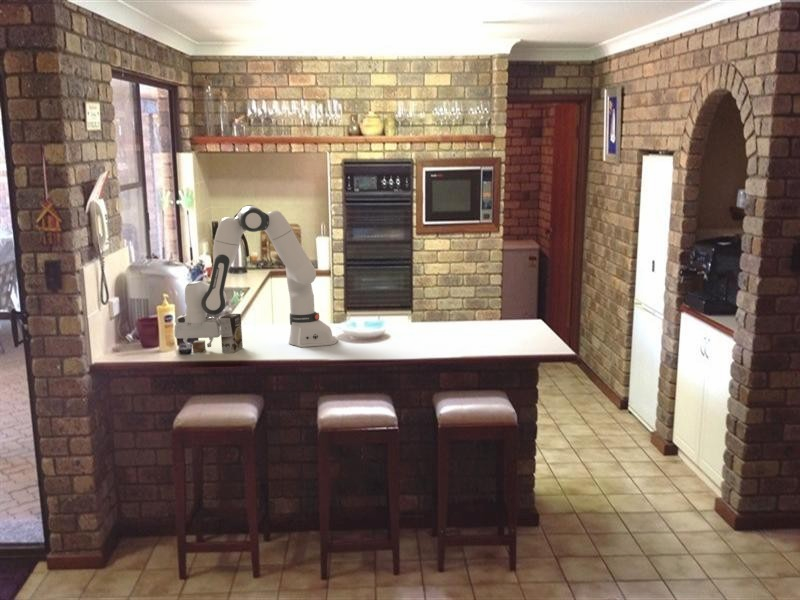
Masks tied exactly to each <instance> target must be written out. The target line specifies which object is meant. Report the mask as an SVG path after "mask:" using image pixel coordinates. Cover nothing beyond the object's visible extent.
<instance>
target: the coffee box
mask: <svg viewBox="0 0 800 600" xmlns="http://www.w3.org/2000/svg"><path fill="white" fill-rule="evenodd" d="M219 319H220V329H221V335H220V337H221V339H220V340H221V341H220V342H221V352H222V353H228V354H229V353H230V354H235V353H237V352H238V351H240V350H242V349H243V348H244V347H243V331H242V330H243V329H242V315H241V313H227V314H224V315H223V316H220V318H219Z"/></svg>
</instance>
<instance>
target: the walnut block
mask: <svg viewBox="0 0 800 600" xmlns="http://www.w3.org/2000/svg"><path fill="white" fill-rule="evenodd" d="M206 349H207V348H206V340H204V339H203V340H202V339H201V340H194V341H193V342H192V353H193V354H194V353H196V354H197V353H204V352H205V351H206Z"/></svg>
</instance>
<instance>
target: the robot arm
mask: <svg viewBox="0 0 800 600" xmlns="http://www.w3.org/2000/svg"><path fill="white" fill-rule="evenodd" d="M246 231H247V232H250V233H256V232H260V231H261V232H262V231H264V233H265V234H266V235H267V237H268V239H269V241H270V243H271V245H272V246H273V248H274V250H275V252H276V253H277V255H278V257H279V259H280V260H281V262H282V263H283V265H284V266H285V274H286V282H287V287H288V288H287V289H288V292H289V293H288V294H289V306H290V313H289V324H290V335H289V339H288V344H289V345H292V346H295V347H296V346H297V347H298V348H299V347H300V348H308V347H310V348H311V347H319V346H321V347H323V346H333V345H335V344H337V342H338V338H337V337H336V336H334V335H333V332H332V329H331V327H330V326H329V325H328V324H326V323H325V322H323V321H321V320H320V313H319V312H316V311H315V297H314V291H313V287H312V283H314V281H315V280H316V277H317V270H316V268H315V267H314V265H313V262H312V261H311V259H310V258H309V256H308V254H307V253H306V251H305V250H304V248H303V247H302V244H301V243H300V242H299V240H298V238H297V235H296V234H295V232H294V230H293V228H292V225H291V224H290V223H289V221H288V220H287V218H286V217H285V216H284V214H283V213H282V212H281V211H279V210H271V211H268V212H264V211H263V210H261V209H260V208H259V207H258V206H255V205H254V204H253V205H252V204H247V205H245V206H243V207H241V208H240V209H239V210H238V211H237V213H236V214H235V215H234V216H233V217H232V216H226V217H223V218H222V219H221V220H220V221H219V224H218V226H217V228H216V231H215V235H214V240H213V247H212V259H213V260H212V273H211V277H210V282H209V284H207V283H205V282H204V281H202V280H196V281H191V282H188V283H187V284H186V286H185V288H184V303H185V305H186V309H185V313H184V314H181V315H179V316H178V317H176V318H175V323H176V324H175V325H174V330H173V331H174V337H175V338H176V339H182V341H183V342H184V344H185V348H187V349H190V348H191V343H189V342H188V339H209V342H207V343H206V347H207V348H212V342H213V340H214V338H220V337H221V326H220V318H219V317H217V316H215V315H219V314H221V313H222V312H223V311H224V310H225V307H226V302H227V300H228V295H227V293H226V291H225V287H226V281H227V277H228V273H229V270H230V268H231V267H232V265H233V263H234V261H235V260H236V257H237V254H238V252H239V248H240V243H241V239H242V236H243V234H244V233H245V232H246ZM208 314H209V315H211V316H207V315H208ZM213 315H214V316H213Z"/></svg>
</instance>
